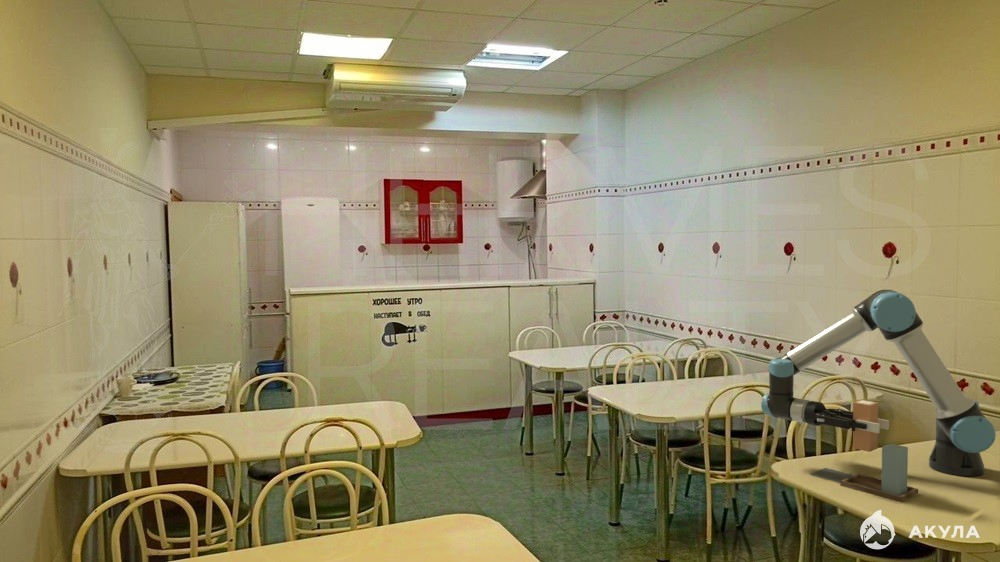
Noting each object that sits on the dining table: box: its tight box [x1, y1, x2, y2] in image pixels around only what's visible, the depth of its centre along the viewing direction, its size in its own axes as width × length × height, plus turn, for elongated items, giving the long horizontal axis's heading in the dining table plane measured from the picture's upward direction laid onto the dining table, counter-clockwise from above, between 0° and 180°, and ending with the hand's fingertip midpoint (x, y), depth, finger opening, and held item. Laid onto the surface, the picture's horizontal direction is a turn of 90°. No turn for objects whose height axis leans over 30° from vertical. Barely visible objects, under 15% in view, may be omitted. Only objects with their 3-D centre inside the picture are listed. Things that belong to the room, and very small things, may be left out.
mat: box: [809, 467, 854, 484], centre depth 223 cm, size 10×10×1 cm
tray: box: [839, 473, 919, 503], centre depth 210 cm, size 11×18×2 cm, turn 37°
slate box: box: [881, 443, 909, 496], centre depth 206 cm, size 5×5×14 cm
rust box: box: [852, 399, 879, 453], centre depth 212 cm, size 5×5×14 cm
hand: (883, 426), depth 208 cm, fingers closed on rust box, 5 cm apart
